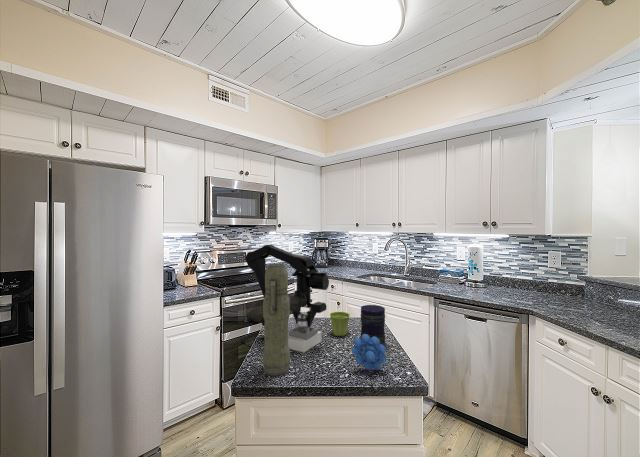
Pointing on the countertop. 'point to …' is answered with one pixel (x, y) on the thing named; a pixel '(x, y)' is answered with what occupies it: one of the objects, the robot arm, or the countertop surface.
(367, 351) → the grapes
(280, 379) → the countertop surface
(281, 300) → the thermos
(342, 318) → the plant pot
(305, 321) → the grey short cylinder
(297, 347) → the grey open box
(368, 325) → the storage jar
